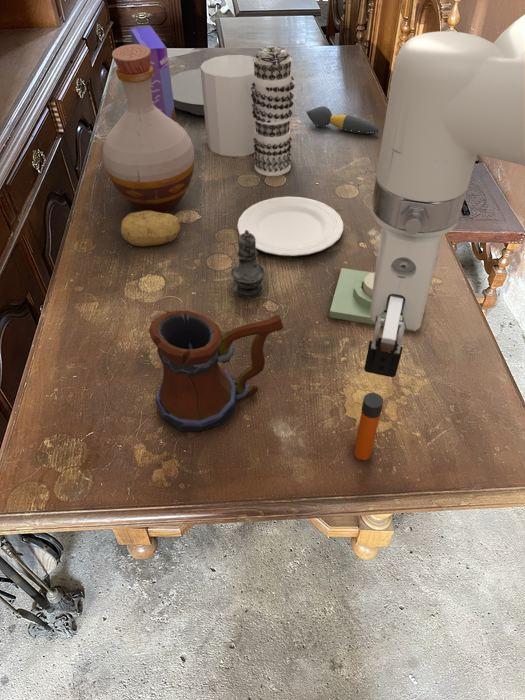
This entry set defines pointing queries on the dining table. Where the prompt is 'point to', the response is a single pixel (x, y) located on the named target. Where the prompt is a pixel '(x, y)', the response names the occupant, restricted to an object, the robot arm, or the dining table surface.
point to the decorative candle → (272, 110)
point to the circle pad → (368, 284)
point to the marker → (368, 425)
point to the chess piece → (248, 268)
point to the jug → (146, 141)
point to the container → (229, 104)
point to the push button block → (353, 298)
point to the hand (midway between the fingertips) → (385, 340)
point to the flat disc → (188, 91)
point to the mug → (203, 367)
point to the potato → (149, 228)
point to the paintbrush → (340, 121)
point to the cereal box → (157, 68)
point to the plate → (291, 226)
